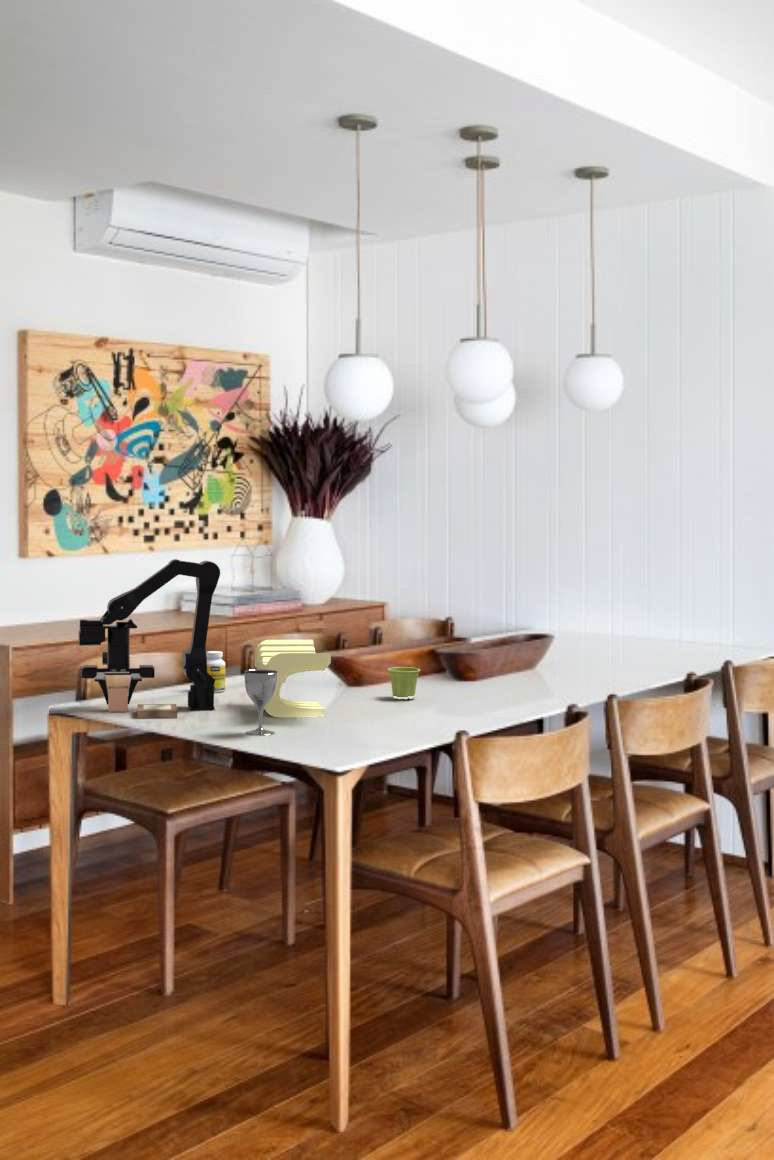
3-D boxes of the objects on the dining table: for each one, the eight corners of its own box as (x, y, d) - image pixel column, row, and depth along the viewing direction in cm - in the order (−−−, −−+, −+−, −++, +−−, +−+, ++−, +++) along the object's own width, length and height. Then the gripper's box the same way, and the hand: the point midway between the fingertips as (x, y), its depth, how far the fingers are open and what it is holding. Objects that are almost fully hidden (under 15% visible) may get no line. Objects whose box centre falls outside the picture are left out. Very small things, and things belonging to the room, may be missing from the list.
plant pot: (383, 700, 368) (384, 670, 367) (391, 695, 377) (392, 666, 376) (415, 702, 366) (416, 672, 365) (422, 697, 375) (423, 667, 374)
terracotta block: (127, 708, 344) (128, 685, 344) (127, 711, 339) (127, 688, 339) (108, 708, 343) (108, 686, 343) (108, 711, 338) (108, 688, 338)
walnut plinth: (175, 711, 342) (176, 703, 342) (177, 718, 332) (177, 709, 332) (137, 711, 340) (137, 703, 340) (137, 718, 330) (137, 710, 330)
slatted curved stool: (254, 704, 357) (255, 639, 356) (311, 703, 360) (312, 639, 359) (267, 723, 328) (268, 653, 327) (329, 722, 331) (330, 652, 330)
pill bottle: (204, 693, 374) (204, 653, 373) (201, 690, 380) (201, 650, 379) (226, 693, 376) (227, 653, 375) (223, 689, 382) (223, 650, 381)
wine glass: (277, 730, 318) (278, 669, 317) (275, 736, 310) (276, 673, 309) (245, 729, 318) (245, 668, 317) (242, 735, 310) (243, 673, 309)
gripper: (154, 641, 350) (153, 699, 351) (83, 641, 346) (83, 699, 347) (154, 646, 339) (154, 705, 340) (81, 646, 335) (81, 706, 336)
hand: (118, 704), depth 341 cm, fingers closed on terracotta block, 5 cm apart
